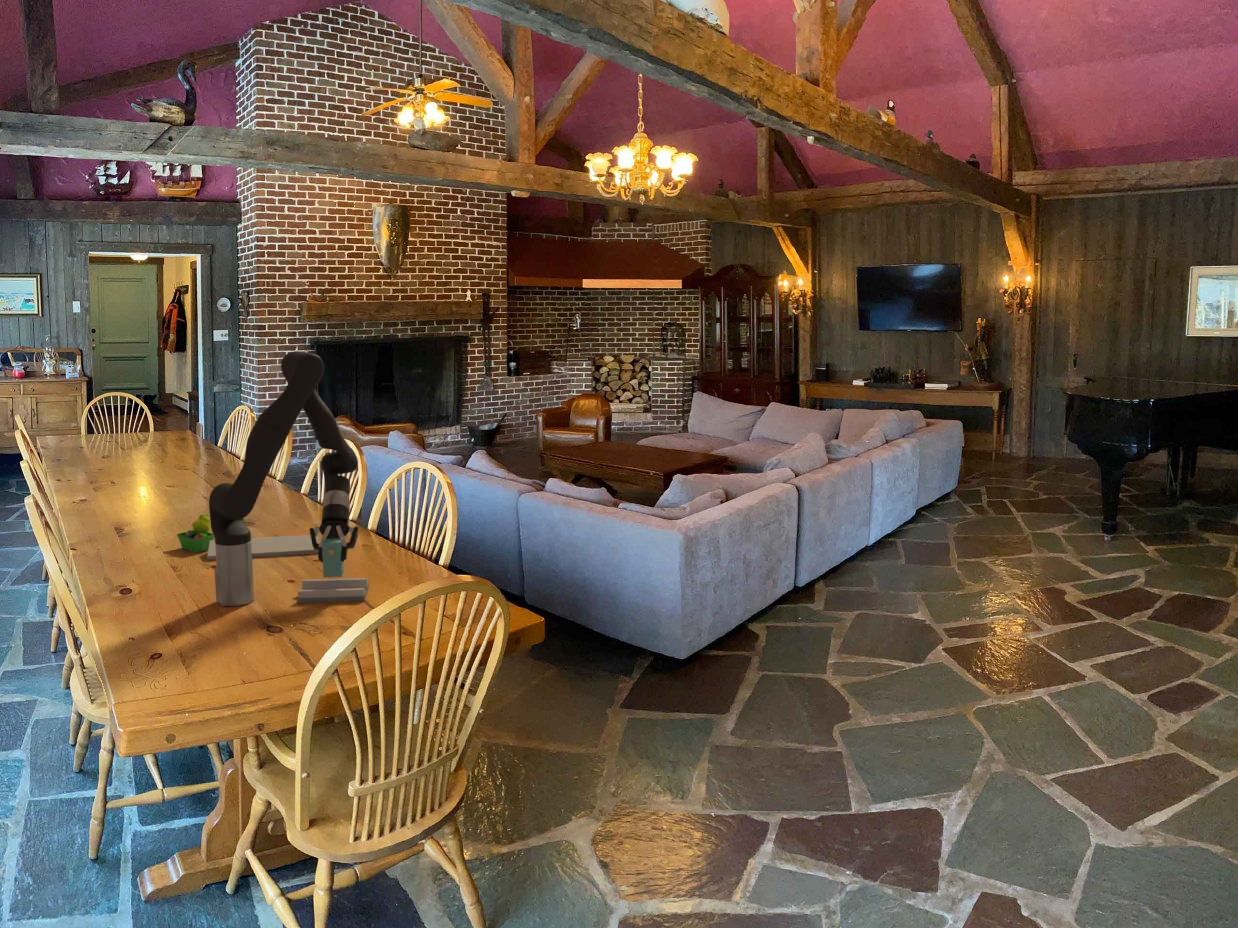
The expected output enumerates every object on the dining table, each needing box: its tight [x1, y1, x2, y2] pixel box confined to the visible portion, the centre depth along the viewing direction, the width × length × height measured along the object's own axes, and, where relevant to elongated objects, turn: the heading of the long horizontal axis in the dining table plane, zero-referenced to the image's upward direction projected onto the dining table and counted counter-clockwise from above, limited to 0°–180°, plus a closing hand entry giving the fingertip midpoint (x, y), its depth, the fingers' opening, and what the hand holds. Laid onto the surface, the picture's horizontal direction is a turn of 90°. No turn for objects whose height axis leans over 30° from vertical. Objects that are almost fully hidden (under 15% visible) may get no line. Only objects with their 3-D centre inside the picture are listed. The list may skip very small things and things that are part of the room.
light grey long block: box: [206, 533, 320, 561], centre depth 311 cm, size 34×5×10 cm
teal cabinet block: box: [322, 538, 345, 578], centre depth 266 cm, size 5×6×10 cm
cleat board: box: [297, 577, 370, 604], centre depth 269 cm, size 18×13×4 cm
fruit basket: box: [176, 513, 215, 553], centre depth 314 cm, size 11×9×11 cm
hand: (332, 560), depth 265 cm, fingers closed on teal cabinet block, 5 cm apart
